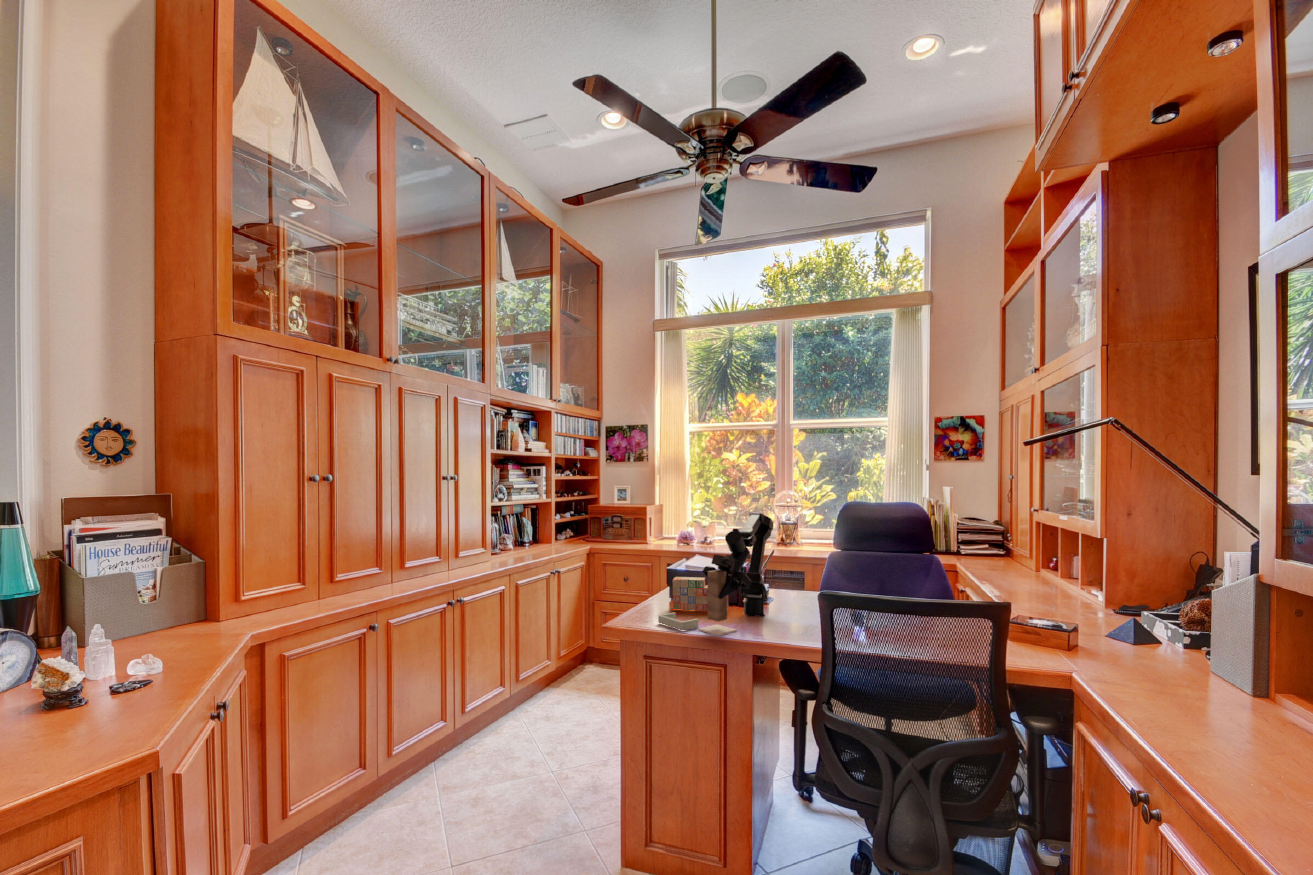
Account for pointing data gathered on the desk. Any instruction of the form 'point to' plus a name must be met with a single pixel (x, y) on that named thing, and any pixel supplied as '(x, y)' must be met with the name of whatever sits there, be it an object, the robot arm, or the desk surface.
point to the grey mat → (717, 630)
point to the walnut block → (716, 596)
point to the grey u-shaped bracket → (677, 622)
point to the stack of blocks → (691, 594)
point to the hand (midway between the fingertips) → (714, 596)
